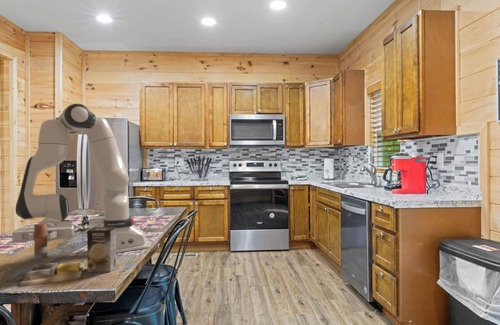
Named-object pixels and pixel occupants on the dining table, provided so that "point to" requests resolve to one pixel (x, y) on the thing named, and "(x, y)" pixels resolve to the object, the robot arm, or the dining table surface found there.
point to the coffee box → (101, 249)
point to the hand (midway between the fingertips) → (40, 237)
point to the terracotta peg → (40, 241)
